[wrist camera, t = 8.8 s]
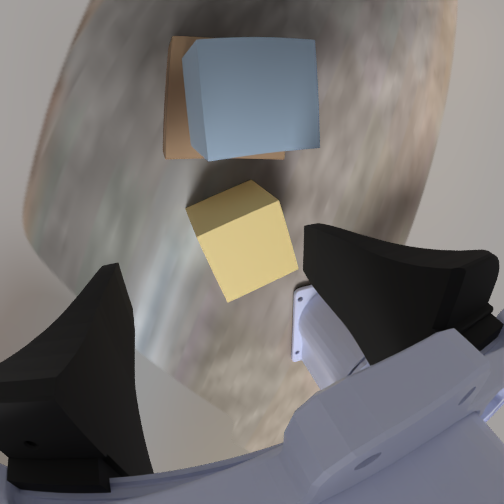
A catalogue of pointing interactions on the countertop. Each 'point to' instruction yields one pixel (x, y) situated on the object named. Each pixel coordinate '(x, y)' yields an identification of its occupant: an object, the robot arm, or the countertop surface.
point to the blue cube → (251, 96)
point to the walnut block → (184, 107)
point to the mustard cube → (243, 238)
